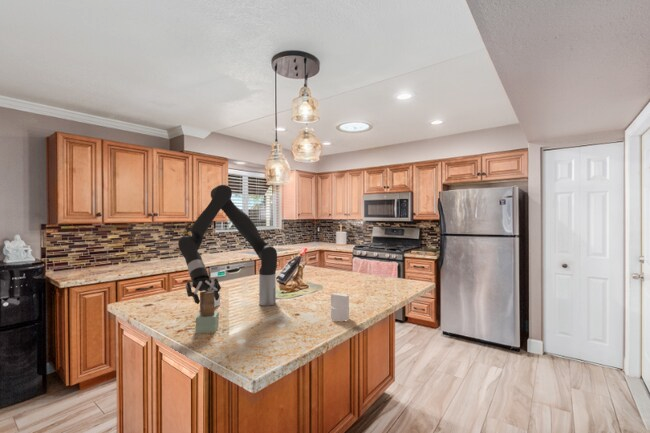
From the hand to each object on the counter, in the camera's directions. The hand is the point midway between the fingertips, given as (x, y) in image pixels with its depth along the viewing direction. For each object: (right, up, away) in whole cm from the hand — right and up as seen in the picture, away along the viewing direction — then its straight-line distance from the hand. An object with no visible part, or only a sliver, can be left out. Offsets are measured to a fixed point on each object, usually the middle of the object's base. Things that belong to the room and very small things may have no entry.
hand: (208, 301), depth 137 cm
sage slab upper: (-1, -10, +2) cm, 10 cm away
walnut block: (-1, -6, +1) cm, 7 cm away
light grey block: (+59, -13, +16) cm, 62 cm away
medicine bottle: (-12, -13, +38) cm, 42 cm away
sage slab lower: (-1, -13, +2) cm, 14 cm away
